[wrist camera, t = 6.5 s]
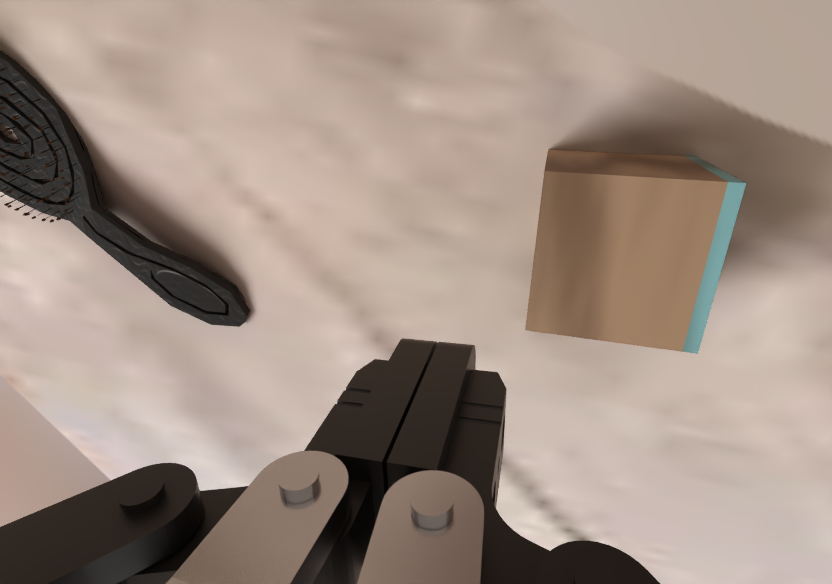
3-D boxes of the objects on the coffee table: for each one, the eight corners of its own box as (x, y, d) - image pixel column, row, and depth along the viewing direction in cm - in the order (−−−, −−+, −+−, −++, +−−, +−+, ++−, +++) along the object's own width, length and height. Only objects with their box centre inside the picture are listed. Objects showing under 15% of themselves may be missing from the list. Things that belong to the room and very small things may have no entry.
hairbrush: (197, 381, 29) (-170, 115, 27) (231, 350, 33) (-95, 110, 31) (256, 288, 26) (-165, -28, 24) (287, 263, 29) (-79, -17, 27)
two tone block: (525, 330, 19) (697, 353, 17) (544, 171, 16) (746, 183, 15) (533, 275, 24) (665, 289, 23) (548, 149, 22) (697, 156, 20)
